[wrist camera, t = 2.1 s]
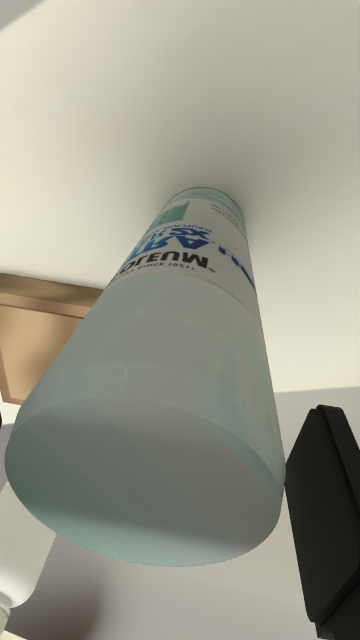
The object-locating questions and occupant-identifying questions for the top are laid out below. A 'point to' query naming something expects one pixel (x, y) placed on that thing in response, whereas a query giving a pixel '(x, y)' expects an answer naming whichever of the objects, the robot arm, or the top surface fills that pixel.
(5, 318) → the square brown tray
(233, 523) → the pale blue bottle
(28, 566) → the pill bottle
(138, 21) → the top surface
